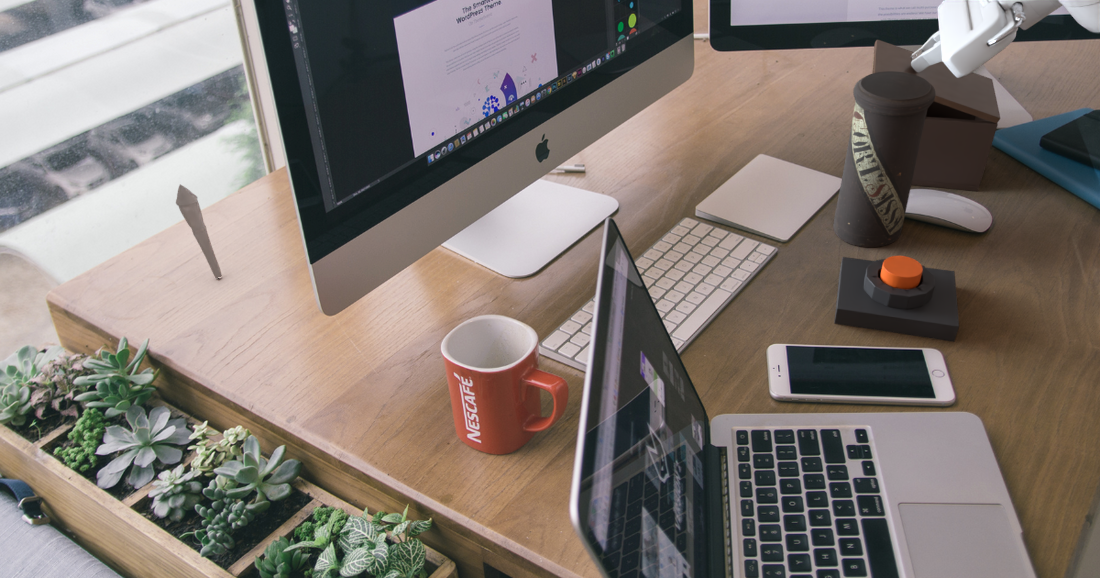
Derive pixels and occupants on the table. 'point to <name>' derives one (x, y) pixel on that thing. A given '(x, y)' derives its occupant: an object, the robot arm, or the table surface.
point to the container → (881, 157)
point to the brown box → (953, 149)
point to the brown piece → (943, 82)
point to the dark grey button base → (897, 301)
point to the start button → (901, 272)
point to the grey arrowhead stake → (197, 225)
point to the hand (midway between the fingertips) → (913, 64)
